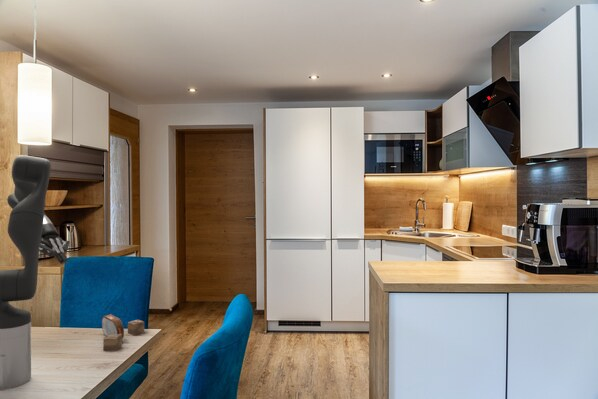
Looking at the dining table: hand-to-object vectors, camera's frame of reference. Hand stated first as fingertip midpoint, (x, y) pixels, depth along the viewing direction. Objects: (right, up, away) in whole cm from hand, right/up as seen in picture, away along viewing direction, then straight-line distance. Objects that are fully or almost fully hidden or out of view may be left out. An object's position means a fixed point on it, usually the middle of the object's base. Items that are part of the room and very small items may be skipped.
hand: (64, 262), depth 153 cm
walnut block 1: (+22, -30, -8) cm, 38 cm away
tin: (+17, -30, +3) cm, 35 cm away
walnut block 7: (+24, -30, +9) cm, 39 cm away
